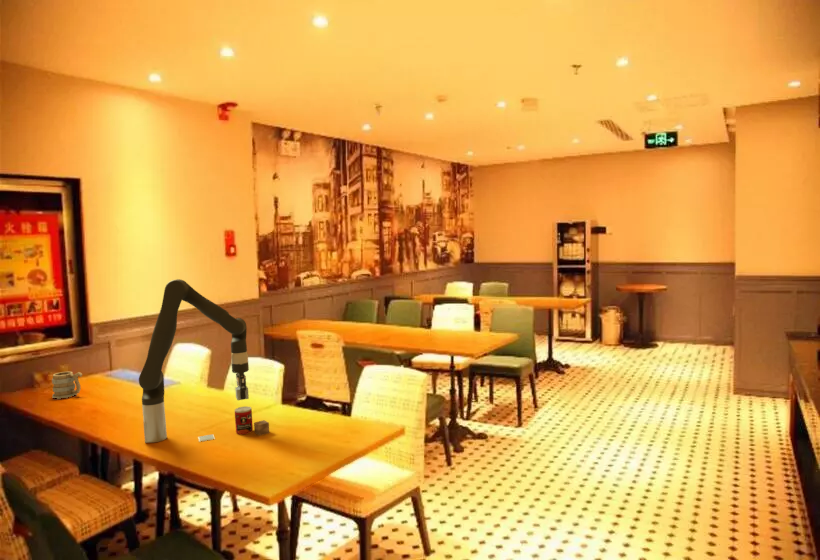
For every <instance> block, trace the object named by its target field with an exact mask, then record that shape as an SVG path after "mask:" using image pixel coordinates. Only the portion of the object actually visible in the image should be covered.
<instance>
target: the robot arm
mask: <svg viewBox="0 0 820 560" xmlns="http://www.w3.org/2000/svg"><path fill="white" fill-rule="evenodd" d="M182 302H185V303H187V304H189V305H191V306H192V307H194V308H196V309H197V310H198V311H199V312H200V313H201V314H203V316H205V317H206V318H208V319H210V320H211V321H213V322H215V323H216V324H218V325H219V326H220V327H222V328H223V329H224V330H225V331H226V332H228V333H230V334H231V341H230V353H231V355H230V360H231V363H230V364H231V372H232V373H233V374H235V379H236V387H240V397H241V399H244V400H246V399H245V398H246V396H245V391H246V386H247V381H246V380H247V377H246V375H245V373H246V372H249V371H250V367H249V355H248V348H247V331H248V330H247V322H246V321H245V320H244V319H243V318H240V317H237V318H235V317H234V316H233V315H231V314H230V313H229V311H228V310H226V309H225V308H223V307H221V306H219V305H218V304H216V303H215V302H213V301H212V300H210V299H208V298H206V296H203V295H202V294H201V293H199V292H198V291H196V290H195V289H194V288H193V287H192V286H191V285H190V284H189V283H188V282H186V281H185V280H183V279H178V278H177V279H172V280H170V281H168V282H167V284H166V285H165V287H164V290H163V297H162V303H161V307H160V310H159V313H158V316H157V318H156V322H155V325H154V327H153V331H152V334H151V338H150V342H149V346H148V351H147V357H146V359H145V362H144V365H143V367H142V370H141V372H140V374H139V377H138V384H139V386H140V388H141V389H142V396H141V404H142V405H141V407H142V416H143V423H142V424H143V433H144V443H145V444H146V443H157V442H162V441H164V440H166V439H167V438H168V435H167V434H168V433H167V421H166V411H165V410H166V409H165V379H164V372H163V371H162V369H163V366H164V362H165V360H166V357H167V355H168V353H169V351H170V349H171V347H172V345H173V343H174V342H173V341H174V338H175V336H176V332H177V325H178V312H179V309H180V305H181V304H182ZM242 386H244V388H242Z"/></svg>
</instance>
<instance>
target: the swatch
mask: <svg viewBox="0 0 820 560" xmlns="http://www.w3.org/2000/svg"><path fill="white" fill-rule="evenodd" d="M197 439H198V442H199V443H201V441H202V442H207V440H208V441H213V439H214V440H216V438H215V435H214V434H206V435H201V436H197Z"/></svg>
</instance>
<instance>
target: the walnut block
mask: <svg viewBox="0 0 820 560" xmlns="http://www.w3.org/2000/svg"><path fill="white" fill-rule="evenodd" d="M253 429H254V434H256V435H258V436H264V435H266V434H267V435H268V434H270V423H269V422H268V421H267V420H260V421H256V422H255V421H254V422H253Z"/></svg>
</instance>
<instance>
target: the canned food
mask: <svg viewBox="0 0 820 560" xmlns="http://www.w3.org/2000/svg"><path fill="white" fill-rule="evenodd" d="M234 421H235V432H236V434H237V435H248V434H250V433H252V432H253V429H254V423H253V412H252V407H251V406H240V407H237V408H235V409H234Z"/></svg>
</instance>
